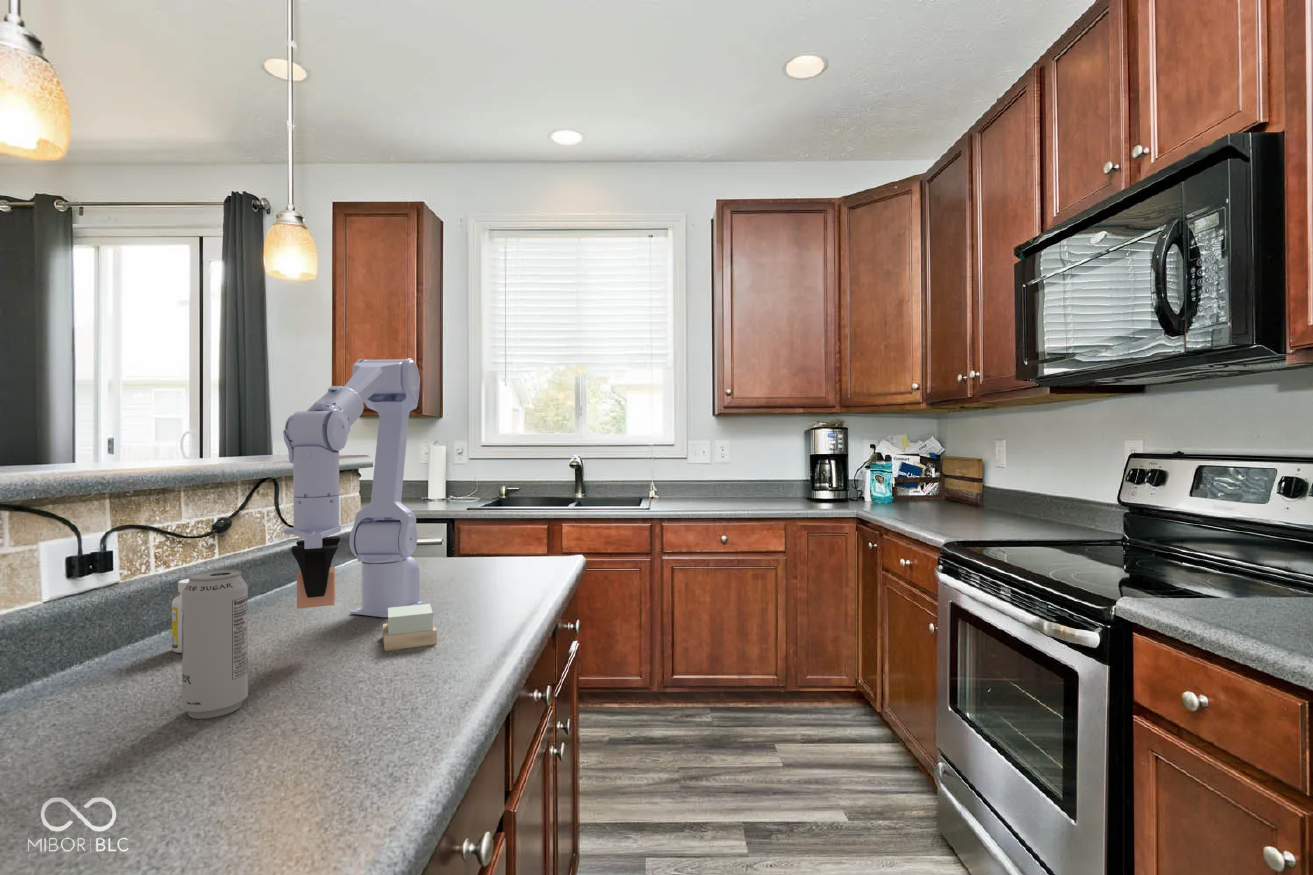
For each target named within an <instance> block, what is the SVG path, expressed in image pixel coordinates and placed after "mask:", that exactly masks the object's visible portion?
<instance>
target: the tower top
mask: <svg viewBox="0 0 1313 875" xmlns="http://www.w3.org/2000/svg"><path fill="white" fill-rule="evenodd" d="M433 613H434V612H433V609H432V606H431V603H424V604H422V605H411V606H401V607H391V608H388V617H387V624H388V635H394V634H403V633H412V632H420V631H429V630H433V623H434V614H433Z"/></svg>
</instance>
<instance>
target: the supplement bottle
mask: <svg viewBox="0 0 1313 875" xmlns="http://www.w3.org/2000/svg"><path fill="white" fill-rule="evenodd" d="M188 582H189V578H186V579H182V580H179V581H177V592H178V593H179V595H178V596H176V597H175V598H173V599H172V601H171V650H172V652H174V653H178V654H182V592H183V590H184V588H185V587H186V585H187V584H188Z"/></svg>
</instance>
